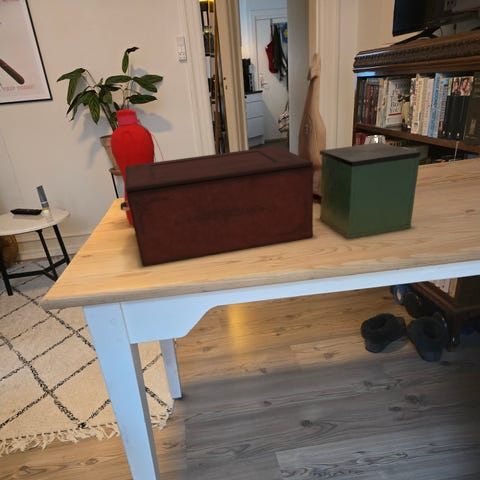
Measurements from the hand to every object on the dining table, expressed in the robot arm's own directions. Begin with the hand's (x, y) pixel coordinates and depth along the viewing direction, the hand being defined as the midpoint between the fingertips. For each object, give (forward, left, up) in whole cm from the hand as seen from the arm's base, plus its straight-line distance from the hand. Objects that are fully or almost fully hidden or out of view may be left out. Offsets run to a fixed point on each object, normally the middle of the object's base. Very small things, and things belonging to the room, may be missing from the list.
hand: (440, 7), depth 55 cm
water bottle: (+59, -15, -35) cm, 71 cm away
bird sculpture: (+22, -35, -35) cm, 54 cm away
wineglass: (+7, -48, -35) cm, 60 cm away
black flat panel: (+8, -15, -21) cm, 27 cm away
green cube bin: (+8, -14, -35) cm, 39 cm away
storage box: (+38, -7, -35) cm, 52 cm away
